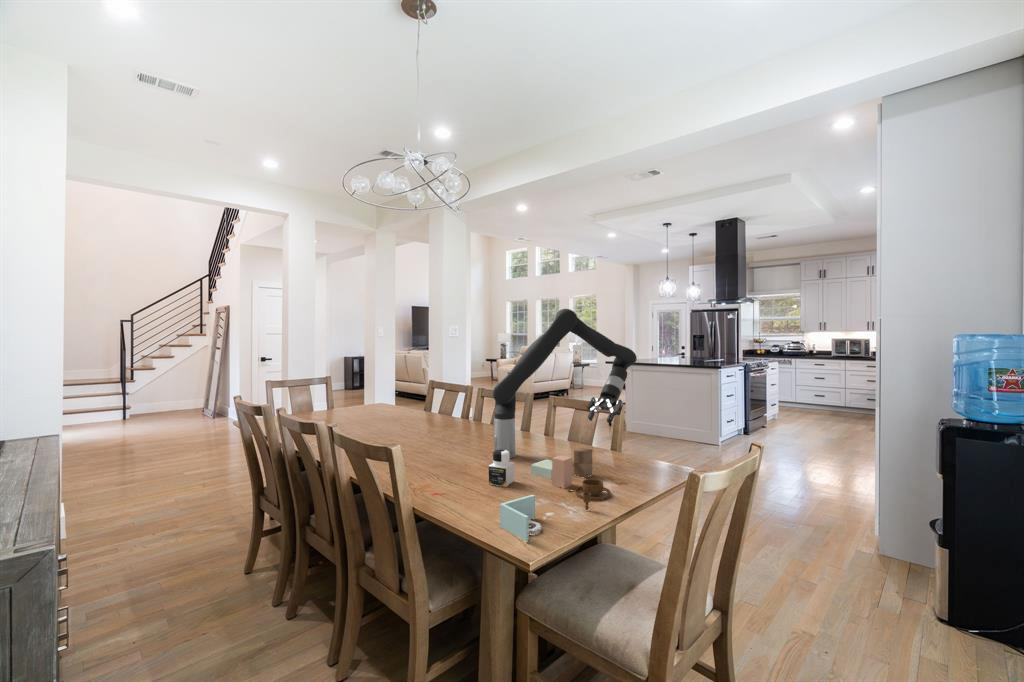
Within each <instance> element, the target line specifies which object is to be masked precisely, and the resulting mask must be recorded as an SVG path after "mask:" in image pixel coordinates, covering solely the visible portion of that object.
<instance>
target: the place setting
mask: <svg viewBox="0 0 1024 682" xmlns="http://www.w3.org/2000/svg"><path fill="white" fill-rule="evenodd" d="M581 484H582V485H581V486H579V487H576V489H575V488H573V489H574V490H575V491H574V492H575V493H574V494H575V496H576V497H577V498H579V497H580V498H579V499H581V498H582V499H581V500H582V501H583V502H584V503H585V506H584V508H585V510H589V504H590V503H591V500H600V501H603V500H602V499H605V500H607V499H609V498H610V497H611V492H612V491H611V490H610V489H608V488H607V487H604V482H603V481H602V480H600V479H598V478H597V479H595V478H588V479H587V478H586V479H584V480H582V482H581ZM571 489H572V488H570V489H567V491H568V492H570V493H572V492H571V491H570V490H571ZM580 490H582V491H583V493H582V494H580V493H579V492H578V491H580ZM603 491H606V492H607V493H608V494H607V493H606V492H605V493H606V494H607V495H604V496H599V495H600V494H602V493H603ZM577 492H578V493H577ZM580 492H581V491H580ZM592 496H595V497H592ZM608 497H609V498H608ZM606 498H607V499H606Z"/></svg>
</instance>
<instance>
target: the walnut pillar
mask: <svg viewBox="0 0 1024 682" xmlns="http://www.w3.org/2000/svg"><path fill="white" fill-rule="evenodd" d="M573 471H574V472H573V476H574V475H576V476H579V477H578V478H580V477H584V478H583V479H585V478H586V477H588V476H590V475H592V476H593V449H590V448H587V447H586V448H585V447H579V448H575V449H574V450H573ZM576 476H575V477H576ZM590 477H591V476H590ZM588 478H589V477H588ZM586 479H587V478H586Z"/></svg>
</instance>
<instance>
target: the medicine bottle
mask: <svg viewBox="0 0 1024 682" xmlns="http://www.w3.org/2000/svg"><path fill="white" fill-rule="evenodd" d="M510 459H511V458H509V451H507V450H496V451H493V452H492V463H490V464H489V465H488V485H490V486H495V485H496V486H497V487H502V486H503V487H504V488H507V487H508V486H510V485H511V484H512V483H513V482H515V463H514V462H511V461H510ZM509 484H510V485H509ZM496 486H495V487H496Z"/></svg>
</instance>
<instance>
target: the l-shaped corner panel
mask: <svg viewBox="0 0 1024 682" xmlns="http://www.w3.org/2000/svg"><path fill="white" fill-rule="evenodd" d="M533 518H535V519H536V495H535V494H531V495H527V496H523V497H518V498H515V499H512V500H509V501H508V500H507V501H506V502H505V501H504V502H502V503H500V504H499V525H500V526H499V528H500V527H502V528H504V529H505V530H507V531H509V532H511V533H513V534H514V535H516V536H518V537H520V538H521V539H523V540H525V541H528V540H529V541H530V536H529V534H530V533H531V534H534V533H535V534H536V533H539V532H540V531H542V525H541V523H539V522H536V521H533V520H534V519H533ZM530 519H533V520H530ZM529 526H531V527H534V528H529ZM540 533H541V532H540ZM540 533H539V534H540ZM536 535H537V534H536Z"/></svg>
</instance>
